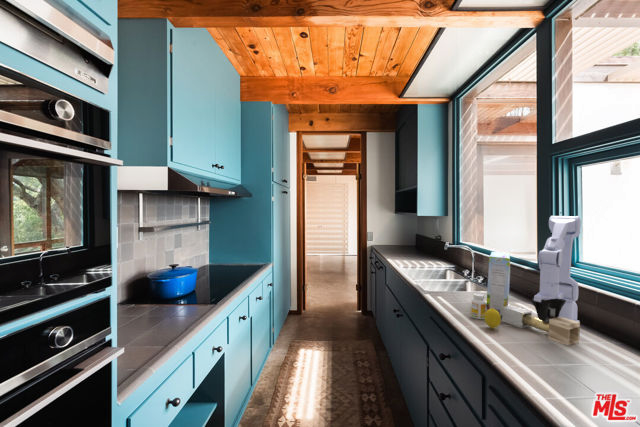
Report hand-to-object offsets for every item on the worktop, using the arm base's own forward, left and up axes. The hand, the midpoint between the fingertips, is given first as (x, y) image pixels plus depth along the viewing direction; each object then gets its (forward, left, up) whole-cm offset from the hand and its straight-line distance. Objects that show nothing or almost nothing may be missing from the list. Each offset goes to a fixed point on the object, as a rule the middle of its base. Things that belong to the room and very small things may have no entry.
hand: (548, 318), depth 115 cm
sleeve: (0, -12, -6) cm, 13 cm away
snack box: (-10, -27, -6) cm, 29 cm away
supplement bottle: (+8, -23, -6) cm, 25 cm away
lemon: (+14, -12, -6) cm, 20 cm away
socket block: (0, +5, -6) cm, 8 cm away
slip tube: (0, -2, -5) cm, 5 cm away
